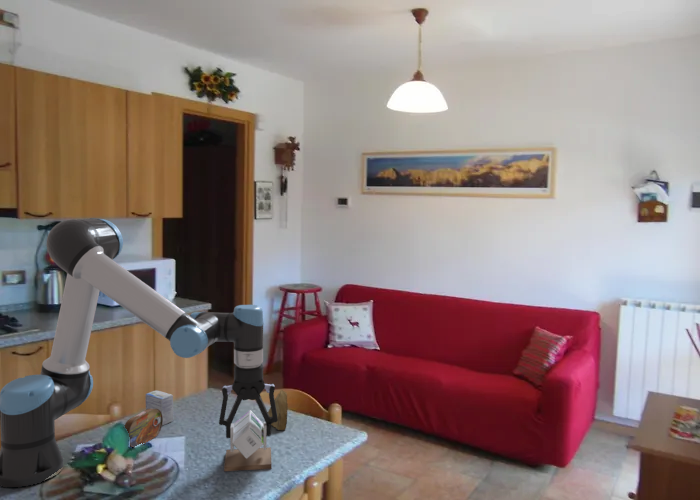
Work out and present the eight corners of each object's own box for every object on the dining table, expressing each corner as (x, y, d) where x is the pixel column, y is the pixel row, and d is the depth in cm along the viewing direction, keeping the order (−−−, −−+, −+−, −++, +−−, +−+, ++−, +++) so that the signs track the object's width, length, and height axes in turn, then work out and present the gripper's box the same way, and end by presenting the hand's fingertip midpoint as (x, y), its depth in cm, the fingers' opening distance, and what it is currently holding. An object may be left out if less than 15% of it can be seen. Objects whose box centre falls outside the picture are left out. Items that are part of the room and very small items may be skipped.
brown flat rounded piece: (129, 453, 151) (129, 423, 150) (120, 451, 152) (119, 422, 151) (163, 432, 165) (163, 404, 165) (154, 430, 166) (154, 403, 166)
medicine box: (173, 421, 174) (173, 394, 173) (162, 426, 170) (161, 398, 169) (157, 416, 178) (156, 389, 177) (145, 420, 174) (145, 393, 173)
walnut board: (224, 471, 142) (224, 466, 142) (226, 453, 152) (226, 449, 152) (271, 468, 144) (271, 464, 144) (270, 451, 154) (270, 447, 154)
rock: (294, 424, 167) (300, 408, 177) (276, 403, 166) (283, 388, 175) (266, 443, 169) (273, 425, 179) (249, 421, 168) (257, 405, 178)
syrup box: (249, 428, 139) (251, 408, 153) (230, 443, 139) (234, 422, 153) (264, 444, 140) (264, 423, 154) (245, 460, 140) (248, 437, 154)
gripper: (206, 369, 140) (207, 456, 142) (288, 367, 144) (288, 452, 146) (209, 361, 148) (209, 444, 150) (287, 359, 151) (287, 440, 153)
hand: (248, 448), depth 148 cm, fingers closed on syrup box, 8 cm apart
